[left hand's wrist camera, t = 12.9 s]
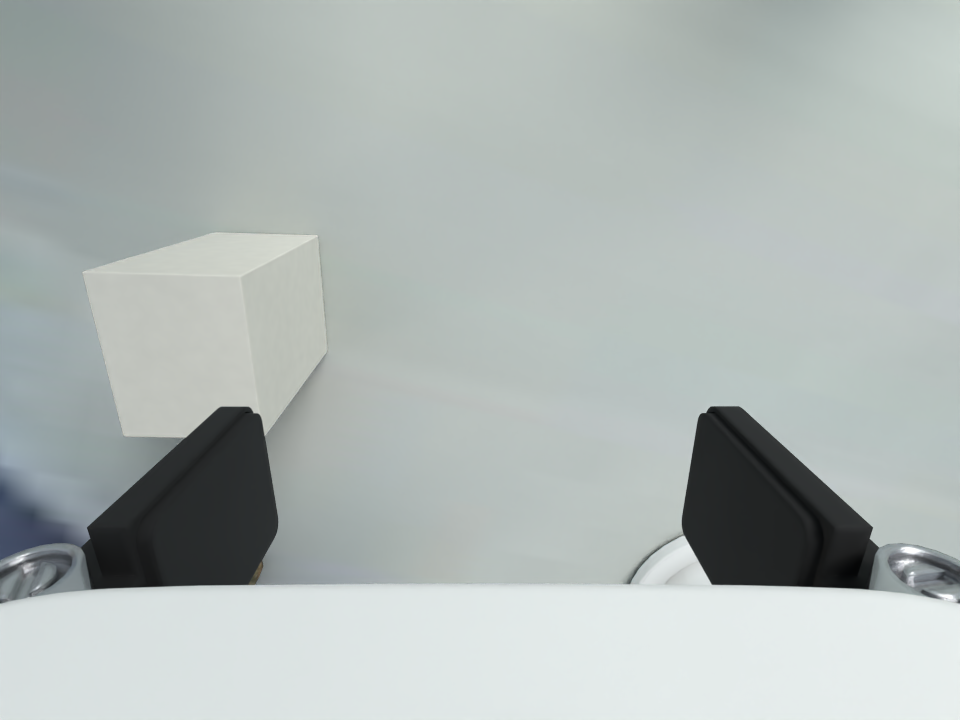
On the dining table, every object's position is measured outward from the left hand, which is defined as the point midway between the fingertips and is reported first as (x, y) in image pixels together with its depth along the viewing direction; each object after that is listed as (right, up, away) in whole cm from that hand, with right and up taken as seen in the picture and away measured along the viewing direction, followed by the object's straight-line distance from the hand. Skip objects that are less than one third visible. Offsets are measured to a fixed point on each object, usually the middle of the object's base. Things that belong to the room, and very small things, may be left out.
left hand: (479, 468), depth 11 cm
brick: (-11, +6, +17) cm, 21 cm away
